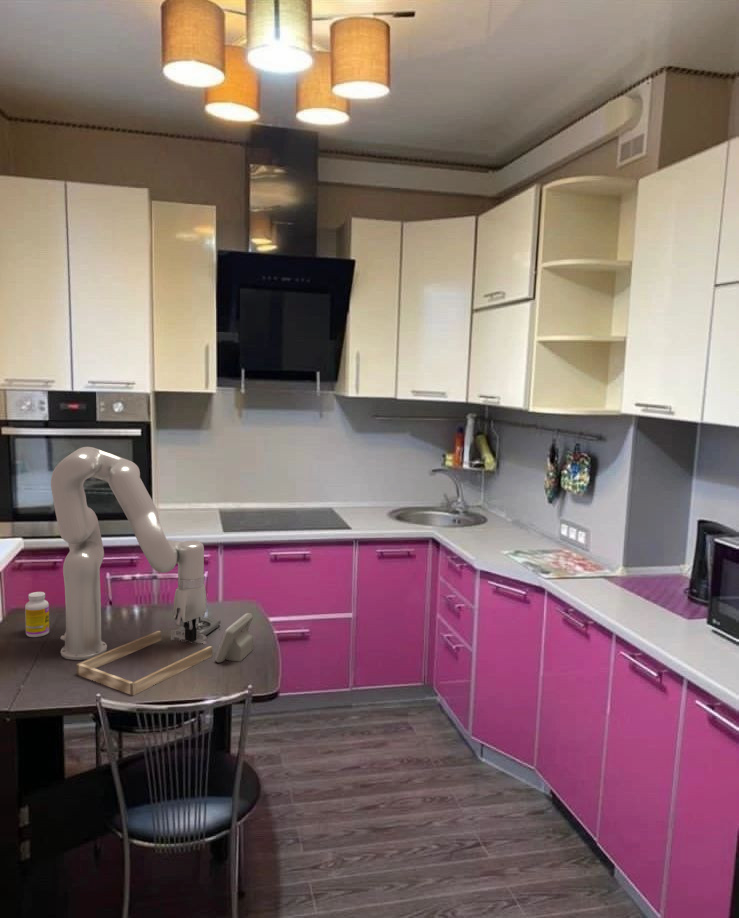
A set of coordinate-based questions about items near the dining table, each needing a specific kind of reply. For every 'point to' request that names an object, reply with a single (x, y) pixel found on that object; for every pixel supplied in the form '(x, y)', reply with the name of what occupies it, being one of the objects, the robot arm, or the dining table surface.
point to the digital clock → (236, 640)
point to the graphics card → (202, 630)
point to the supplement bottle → (37, 615)
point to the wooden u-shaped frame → (132, 688)
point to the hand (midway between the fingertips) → (190, 640)
